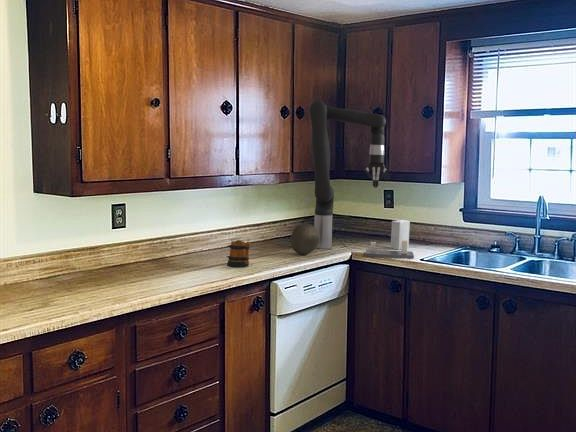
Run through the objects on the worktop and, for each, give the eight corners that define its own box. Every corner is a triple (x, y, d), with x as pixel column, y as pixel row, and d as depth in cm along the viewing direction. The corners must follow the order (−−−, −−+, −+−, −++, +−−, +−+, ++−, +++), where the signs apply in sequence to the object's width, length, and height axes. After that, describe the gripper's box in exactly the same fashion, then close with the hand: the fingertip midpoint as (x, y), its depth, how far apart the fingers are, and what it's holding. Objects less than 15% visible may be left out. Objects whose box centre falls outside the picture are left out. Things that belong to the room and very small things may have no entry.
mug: (221, 265, 282) (221, 239, 280) (239, 262, 289) (240, 237, 287) (240, 269, 272) (240, 243, 271) (258, 267, 279) (258, 241, 278)
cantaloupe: (289, 256, 305) (290, 225, 303) (290, 251, 319) (291, 221, 317) (319, 257, 305) (320, 226, 303) (319, 252, 319) (320, 222, 317)
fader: (401, 253, 312) (402, 240, 312) (401, 252, 315) (401, 239, 315) (406, 253, 312) (407, 241, 311) (406, 252, 315) (406, 240, 314)
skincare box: (400, 247, 342) (401, 219, 340) (409, 248, 337) (410, 220, 335) (389, 248, 336) (391, 220, 335) (398, 250, 332) (400, 221, 330)
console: (365, 256, 311) (366, 245, 311) (365, 252, 323) (366, 241, 322) (413, 258, 308) (414, 247, 308) (412, 254, 320) (412, 243, 320)
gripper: (363, 153, 326) (362, 187, 328) (390, 154, 324) (388, 188, 326) (364, 153, 333) (362, 186, 335) (389, 154, 331) (388, 187, 333)
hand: (375, 187), depth 331 cm, fingers closed
